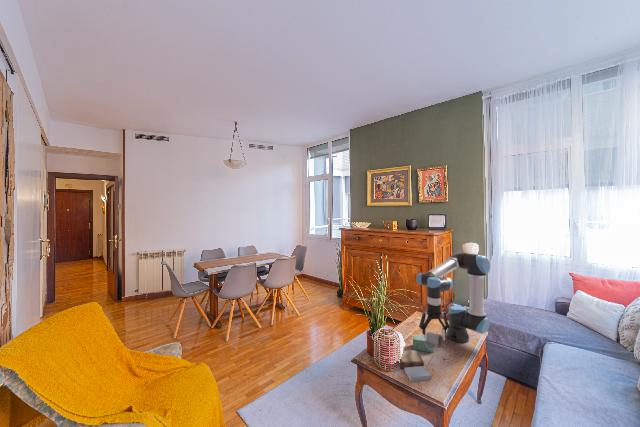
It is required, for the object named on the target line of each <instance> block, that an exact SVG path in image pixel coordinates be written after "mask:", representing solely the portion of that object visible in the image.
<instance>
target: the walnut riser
mask: <svg viewBox="0 0 640 427" xmlns="http://www.w3.org/2000/svg"><path fill="white" fill-rule="evenodd" d="M402 350H403V354H402V357H401V359H400V366H399V368H400V369H401V370H404V368H406V367H417V366H424V367H425V362H424V360H423V359H422V357H421V355H420V353H419V352H418V350H414V349H411V350H410V349H402Z"/></svg>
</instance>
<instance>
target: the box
mask: <svg viewBox="0 0 640 427" xmlns="http://www.w3.org/2000/svg"><path fill="white" fill-rule="evenodd" d="M427 347H428V348H433V346H431V345H428V344H427ZM412 350H417V351H420V352H426V353H434V352H435V349H434V350H428V349H427V348H426V341H425V339H424V335H417V334H413V335H412Z"/></svg>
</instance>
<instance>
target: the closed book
mask: <svg viewBox="0 0 640 427" xmlns="http://www.w3.org/2000/svg"><path fill="white" fill-rule="evenodd" d="M403 370H404V371H405V372H404V374H407V375H406V376H407V377H408V379H409V381H410V382H420V381H427V380H431V379H432V375H431V373H430V372H429V371H428V370H427V369H426V367H425V365H424V366H417V367H406V368H404V369H403Z"/></svg>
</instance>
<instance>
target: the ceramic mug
mask: <svg viewBox="0 0 640 427" xmlns="http://www.w3.org/2000/svg"><path fill="white" fill-rule="evenodd" d="M427 344H428V345H431V346H433V348H428V347H427ZM442 346H443V339H442V334H438V333H436V332H435V333H434V332H428V331H427V341H426V348H427V349H428V350H434V351H435V350H436V349H441V348H442Z"/></svg>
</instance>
